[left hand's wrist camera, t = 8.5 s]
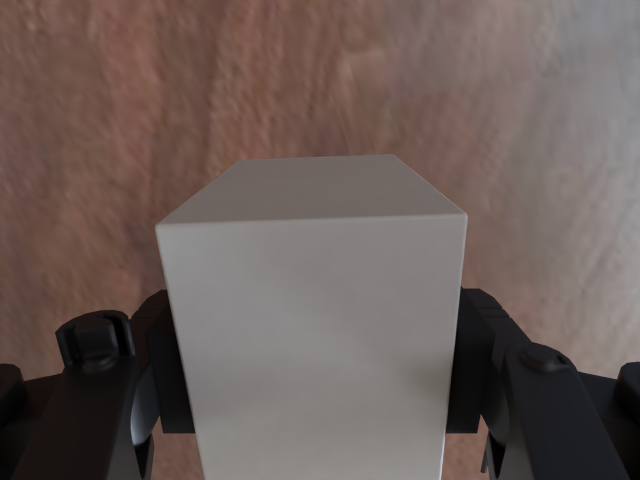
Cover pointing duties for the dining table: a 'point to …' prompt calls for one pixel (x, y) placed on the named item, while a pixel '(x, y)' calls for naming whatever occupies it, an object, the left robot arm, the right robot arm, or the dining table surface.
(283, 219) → the post
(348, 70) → the dining table surface
